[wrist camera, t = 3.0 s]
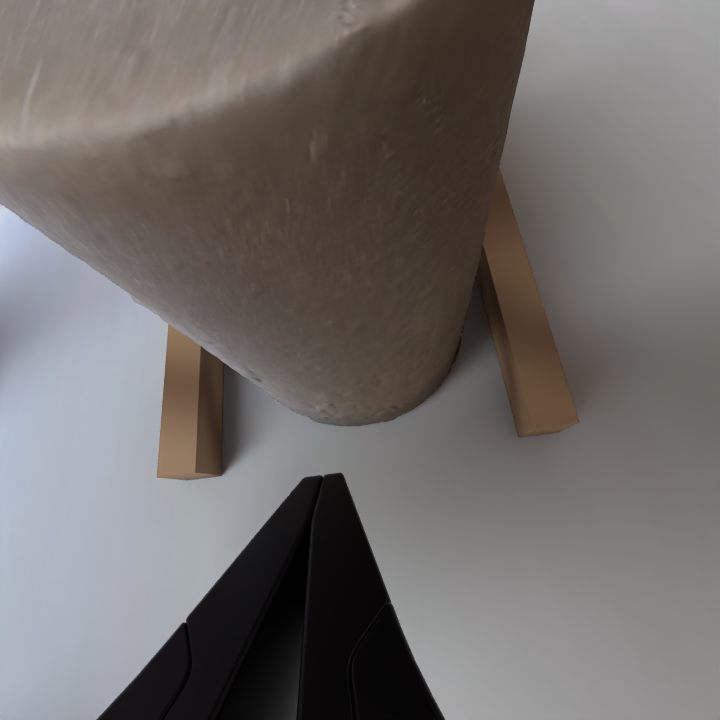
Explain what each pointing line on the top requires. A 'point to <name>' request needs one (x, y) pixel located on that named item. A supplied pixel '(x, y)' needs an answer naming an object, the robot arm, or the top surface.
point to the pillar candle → (272, 174)
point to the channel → (509, 329)
